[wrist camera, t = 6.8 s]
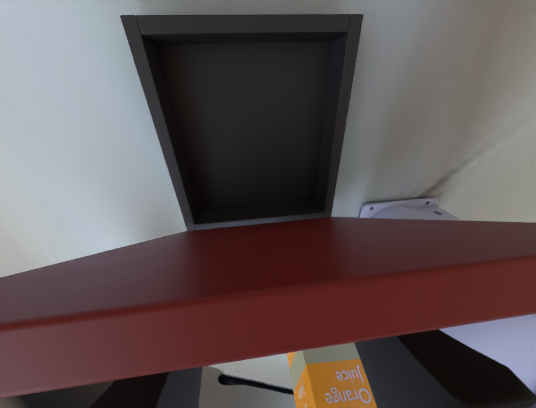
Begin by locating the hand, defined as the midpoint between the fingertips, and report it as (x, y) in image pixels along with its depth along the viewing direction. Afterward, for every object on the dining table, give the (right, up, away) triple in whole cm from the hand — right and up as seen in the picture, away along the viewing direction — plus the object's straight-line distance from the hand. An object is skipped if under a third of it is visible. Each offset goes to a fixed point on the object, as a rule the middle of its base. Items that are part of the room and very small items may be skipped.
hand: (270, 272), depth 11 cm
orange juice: (+6, -14, +21) cm, 26 cm away
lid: (0, +3, -1) cm, 3 cm away
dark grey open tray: (-1, +10, +6) cm, 12 cm away
